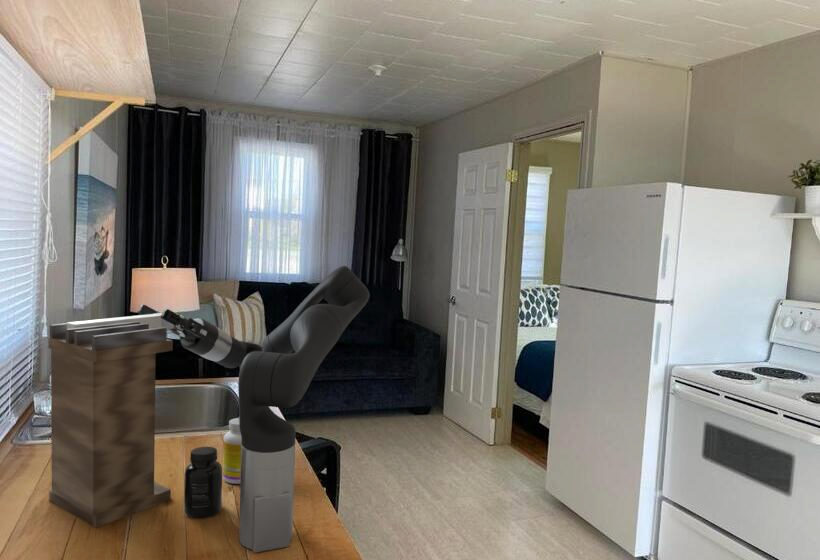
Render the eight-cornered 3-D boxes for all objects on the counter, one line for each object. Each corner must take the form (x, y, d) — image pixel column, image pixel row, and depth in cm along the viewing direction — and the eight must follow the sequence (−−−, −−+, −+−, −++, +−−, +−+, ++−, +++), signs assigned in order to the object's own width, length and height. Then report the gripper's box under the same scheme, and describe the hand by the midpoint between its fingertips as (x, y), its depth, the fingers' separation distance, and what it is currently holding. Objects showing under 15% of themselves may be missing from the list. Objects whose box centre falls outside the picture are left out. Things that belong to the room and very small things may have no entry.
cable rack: (124, 475, 131) (125, 316, 128) (172, 498, 122) (174, 327, 119) (49, 500, 119) (48, 324, 116) (96, 527, 109) (96, 337, 106)
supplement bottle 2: (245, 486, 129) (247, 427, 128) (217, 482, 130) (218, 423, 129) (259, 474, 135) (261, 417, 134) (232, 470, 137) (233, 414, 136)
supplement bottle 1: (229, 508, 119) (230, 448, 118) (204, 523, 113) (205, 460, 112) (201, 500, 122) (203, 441, 121) (175, 514, 116) (176, 452, 114)
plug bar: (165, 326, 134) (165, 312, 133) (174, 328, 132) (174, 314, 132) (66, 338, 116) (66, 322, 116) (75, 340, 115) (74, 324, 114)
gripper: (194, 321, 146) (140, 291, 134) (234, 329, 138) (180, 298, 126) (180, 350, 144) (124, 322, 132) (220, 360, 136) (163, 331, 124)
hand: (151, 310), depth 129 cm, fingers open, 8 cm apart
